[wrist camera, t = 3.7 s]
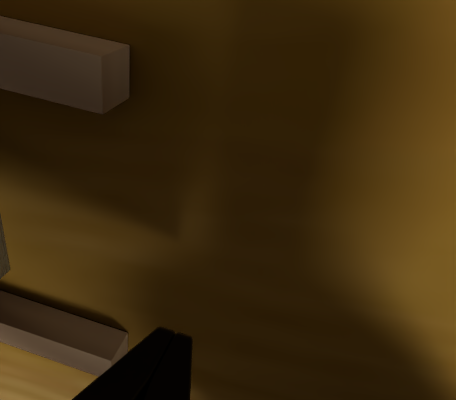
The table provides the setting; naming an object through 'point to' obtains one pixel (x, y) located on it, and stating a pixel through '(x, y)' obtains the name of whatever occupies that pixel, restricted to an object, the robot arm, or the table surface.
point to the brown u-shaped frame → (83, 99)
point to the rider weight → (3, 253)
